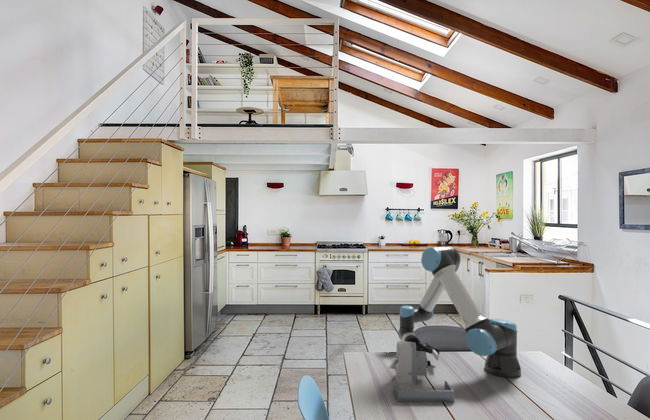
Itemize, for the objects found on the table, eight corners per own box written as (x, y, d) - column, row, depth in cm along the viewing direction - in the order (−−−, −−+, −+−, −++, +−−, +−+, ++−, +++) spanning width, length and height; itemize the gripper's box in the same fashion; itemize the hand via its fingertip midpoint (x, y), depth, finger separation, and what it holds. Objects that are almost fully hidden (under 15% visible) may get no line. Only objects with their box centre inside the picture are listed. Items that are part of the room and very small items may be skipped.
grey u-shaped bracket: (446, 390, 151) (446, 380, 151) (454, 402, 142) (454, 391, 142) (392, 390, 151) (392, 380, 151) (397, 401, 142) (397, 391, 142)
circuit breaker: (430, 385, 156) (431, 349, 156) (396, 382, 159) (396, 346, 159) (429, 378, 163) (429, 343, 164) (396, 374, 166) (396, 340, 166)
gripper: (435, 349, 192) (449, 365, 171) (386, 349, 192) (395, 365, 171) (435, 334, 193) (450, 349, 171) (387, 334, 192) (395, 349, 171)
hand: (422, 357), depth 171 cm, fingers open, 13 cm apart
